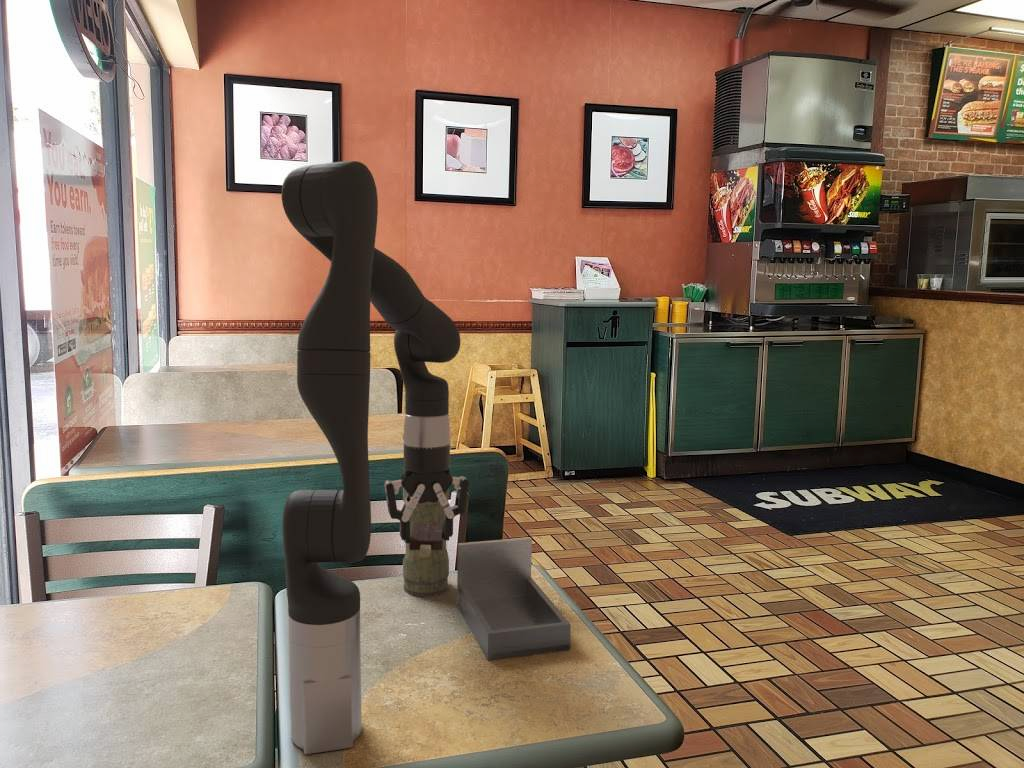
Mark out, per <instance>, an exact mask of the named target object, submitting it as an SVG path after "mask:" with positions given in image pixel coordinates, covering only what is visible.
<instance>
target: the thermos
mask: <svg viewBox="0 0 1024 768" xmlns="http://www.w3.org/2000/svg"><path fill="white" fill-rule="evenodd" d="M407 495H408V493H407V492H406V490H405V489H404V488H403V487H402V500H403V502H404V501H405V499H406V497H407ZM445 496H446V498H447V500H448V501H449V500H450V488H449V489H448V490H447V491H446V493H445ZM410 498H411V497H410ZM443 516H444V511H443V509H442V507H441V505H440V503H439V502H438V501H437V502H434V503H432V502H425V503H419V504H418V503H417V505H416V507H415V509H414V510H413V512H412V514H411V516H410V518H409V521H410V538H411V533H412V528H413V525H414V524H415V523H420V522H427V523H431V524H443ZM419 552H420V550H410V549H409V543H407V544H405V553H404V557H403V560H402V576H403V590H404V592H405V593H407V594H409V595H411V596H417V597H434V596H438V595H441V594H444V593H445V592H446V591H447V590H448V589H449V580H448V578H449V575H450V559H449V552H448V549H447V541H445V540H444V539H443V543H442V550H431V552H430V556H429V557H420V556H419Z"/></svg>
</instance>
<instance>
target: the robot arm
mask: <svg viewBox="0 0 1024 768" xmlns="http://www.w3.org/2000/svg"><path fill="white" fill-rule="evenodd" d="M281 187H282V188H281V202H282V208H283V211H284V214H285V215H286V217H287V219H288V221H289V222H290V224H291V226H293V229H295V230H296V231H297V232H298V233H299V234H300V235H301V237H302V238H304V239H305V240H306V241H307V242H308V243H309V244H311V245H312V247H314V248H315V249H316V250H318V251H319V252H320V253H321V254H322V255H323V256H324V257H326V259H327V260H329V262H330V267H329V271H328V274H327V277H326V278H325V281H324V284H323V286H322V287H321V290H320V291H319V293H318V295H317V297H316V298H315V300H314V302H313V303H312V305H311V306H310V309H309V310H308V312H307V314H306V316H305V318H304V320H303V323H302V324H301V325H302V326H301V328H300V330H299V334H298V338H297V351H296V353H297V354H296V355H297V356H296V357H297V359H296V362H297V363H296V374H297V375H296V381H297V382H296V384H297V389H298V393H299V394H300V397H301V400H302V401H303V403H304V405H305V407H306V408H307V410H308V411H309V413H310V415H311V417H312V418H313V419H314V421H315V423H316V424H317V426H318V427H319V428H320V430H321V431H322V433H323V435H324V436H325V438H326V440H327V441H328V443H329V445H330V447H331V449H332V452H333V453H334V456H335V458H336V461H337V463H338V468H339V471H340V474H341V475H340V476H341V481H342V487H343V489H299V490H293V491H292V492H291V493H290V494H289V495H288V496H287V499H286V501H285V502H284V507H283V512H282V544H283V545H282V546H283V553H284V554H283V556H284V563H285V564H284V565H285V567H284V568H285V582H286V583H285V585H286V598H287V617H288V620H287V621H288V622H287V623H288V628H287V630H288V668H289V669H288V671H289V710H290V738H291V741H292V743H293V744H294V745H295V746H296V747H298V748H300V749H302V750H303V754H304V755H310V754H316V753H323V752H329V751H332V752H333V751H338V750H343V749H351V748H353V747H354V742H355V741H356V740H357V739H358V738H359V737H360V735H361V732H362V726H363V725H362V724H363V723H362V719H363V718H362V665H361V664H362V663H361V662H362V661H361V659H362V657H361V652H362V651H361V649H362V648H361V592H360V588H359V587H358V585H357V584H356V583H355V582H354V581H352V580H351V579H348V578H345V577H343V576H340V575H337V574H336V573H334V572H331V571H330V570H328V569H327V568H325V567H324V566H322V565H321V564H320V563H356V562H361V561H362V560H364V559H365V558H366V556H367V554H368V552H369V549H370V543H371V535H372V510H371V509H372V506H371V505H372V504H371V503H372V502H371V488H370V487H371V485H370V465H369V464H370V463H369V436H368V435H369V409H370V407H369V406H370V388H371V387H370V384H371V304H372V305H373V307H374V308H375V310H377V313H379V314H380V316H381V317H382V318H383V320H384V321H385V323H387V325H388V326H389V327H391V329H393V330H395V331H394V336H393V346H394V351H395V355H396V359H397V362H398V363H397V364H398V366H399V370H400V375H401V378H402V381H403V385H404V393H405V394H404V397H405V398H404V402H405V403H404V408H405V409H404V423H403V434H402V440H403V473H402V475H401V478H400V479H398V480H397V479H396V480H390V479H387V480H384V483H383V485H384V492H385V493H384V494H385V498H386V505H387V511H388V515H389V516H390V518H391V519H393V520H395V519H396V520H398V521H399V536H400V538H401V540H402V541H403V542H404V544H405V545H406V544H407V543H410V521H409V518H410V516H411V514H412V512H413V510H414V509H415V507H416V505H417V503H418V504H419V503H425V502H432V503H434V502H437V501H438V502H439V503H440V505H441V507H442V509H443V511H444V516H443V539H444V540H445V541H446V542H447V541H450V538H451V537H453V534H454V519H455V517H457V516H458V515H459V516H460V515H464V513H465V510H466V505H467V500H468V499H467V498H468V492H469V484H470V481H469V480H468V479H467V477H466V476H464V475H461V476H452V474H451V470H450V469H451V425H450V423H451V422H450V416H449V412H450V411H449V408H450V407H449V403H450V402H449V400H450V399H449V398H450V395H449V391H450V390H449V382H448V381H447V380H446V379H444V378H443V377H440V376H437V375H435V374H432V373H431V372H430V371H429V369H428V367H427V365H426V363H435V364H436V363H437V364H444V363H448V362H450V361H452V360H454V358H456V357H457V355H458V354H459V351H460V347H461V342H462V341H461V335H460V331H459V329H458V326H457V325H456V323H455V321H453V319H452V318H451V317H450V316H449V315H448V314H447V313H446V312H444V311H443V310H442V309H441V308H439V307H438V306H437V305H436V304H435V303H433V302H432V301H431V300H429V299H428V298H426V297H425V295H424V293H423V292H422V291H421V289H420V287H419V286H418V285H417V283H416V282H415V280H414V278H413V277H412V276H411V274H410V273H409V272H408V270H406V269H405V268H404V267H403V266H402V265H401V264H400V263H399V262H397V261H396V260H395V259H393V258H392V257H390V256H389V255H388V254H386V253H384V252H382V251H381V250H379V249H378V248H377V247H376V246H375V245H376V237H377V226H378V217H379V216H378V214H379V212H378V211H379V210H378V209H379V200H378V190H377V189H378V188H377V186H376V182H375V179H374V176H373V174H372V172H371V170H370V169H369V167H368V166H367V165H366V164H365V163H362V162H360V161H357V160H344V161H335V162H327V163H318V164H311V165H310V164H309V165H304V166H300V167H299V166H298V167H296V168H295V169H292V170H291V171H290V172H289V173H287V175H286V176H285V177H284V180H283V183H282V186H281ZM452 485H453V487H454V489H455V490H456V495H455V501H454V505H453V506H451V505H450V503H449V500H447V498H446V496H445V493H446V491H447V490H448V489H449V490H450V487H451V486H452ZM401 487H402V489H403V488H404V489H405V490H406V492H407V493H408V495H407V497H406V499H405V501H403V505H402V507H401V510H400V509H398V506H397V500H396V495H398V494H399V492H400V491H399V490H400V488H401ZM410 497H411V498H410Z"/></svg>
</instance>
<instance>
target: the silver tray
mask: <svg viewBox="0 0 1024 768" xmlns="http://www.w3.org/2000/svg"><path fill="white" fill-rule="evenodd" d="M532 548H533V540H532V538H531V536H530V537H528V536H527V537H518V538H507V539H506V538H504V539H495V540H494V539H493V540H482V541H470V542H469V541H468V542H460V543H459V542H458V543H457V567H456V568H457V574H456V577H457V580H456V581H457V586H456V587H457V589H456V590H457V591H456V593H457V594H456V599H457V600H456V601H457V602H456V605H457V608H458V609H459V611H460V613H461V615H462V617H463V619H464V620H465V623H467V624H466V625H467V626H468V628H469V629H470V631H471V634H472V635H473V637H474V638H475V640H476V642H477V645H479V648H480V650H481V652H482V653H483V655H484V656H485V658H486V661H495V660H502V659H503V660H504V659H510V658H517V657H525V656H527V657H528V656H533V655H540V654H541V655H542V654H548V653H557V652H558V653H559V652H565V651H571V627H572V626H571V623H570V621H569V620H568V619H567V618H566V617H565V616H564V614H563V613H562V612H561V611H560V609H558V607H557V606H556V605H555V604H554V603H553V602H552V600H551V599H550V598H549V596H547V594H546V593H545V592H544V591H543V590H542V588H541V587H540V586H539V585H538V584H537V583H536V581H535V580H534V579H533V578H532V555H533V554H532V550H533V549H532Z"/></svg>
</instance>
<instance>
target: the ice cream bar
mask: <svg viewBox="0 0 1024 768" xmlns="http://www.w3.org/2000/svg"><path fill="white" fill-rule="evenodd" d="M442 543H443V524H431V523H427V522H420V523H415V524H414V525H413V528H412V533H411V538H410V543H409V549H410V550H420V552H419V556H420V557H429V556H430V552H431V550H442Z"/></svg>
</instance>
